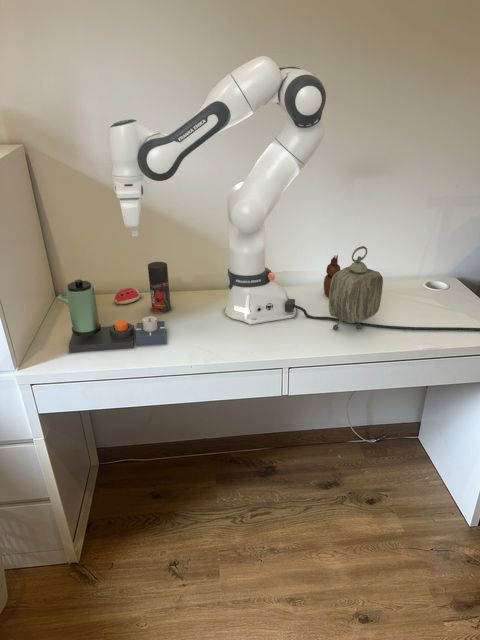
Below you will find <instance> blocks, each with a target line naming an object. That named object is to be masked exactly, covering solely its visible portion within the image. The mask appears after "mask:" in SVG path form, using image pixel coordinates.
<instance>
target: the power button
mask: <svg viewBox="0 0 480 640" xmlns="http://www.w3.org/2000/svg"><path fill="white" fill-rule="evenodd" d="M128 323H129V322H128V321H127V320H126V319H119V320H115V321H114V322H113V325H115V330H116V331H124V330H127V329H128Z"/></svg>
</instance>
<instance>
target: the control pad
mask: <svg viewBox="0 0 480 640" xmlns="http://www.w3.org/2000/svg"><path fill="white" fill-rule="evenodd" d="M135 327H136V328H135V344H136V347H147V346H159V345H166V344H167V341H166V323H165V320H159V321H158V320H157V327H158V328H157V330H155V331H152V332H147V331H144V330H143V322H136V326H135Z"/></svg>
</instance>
